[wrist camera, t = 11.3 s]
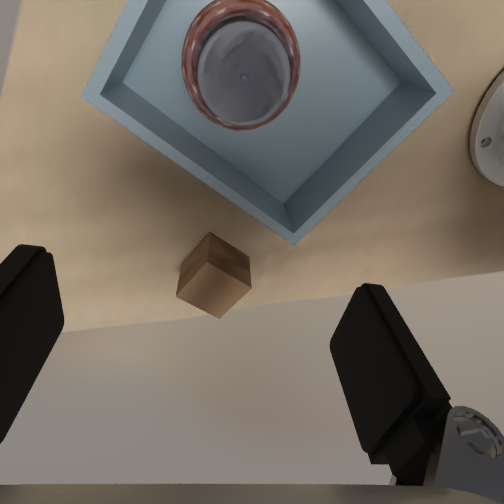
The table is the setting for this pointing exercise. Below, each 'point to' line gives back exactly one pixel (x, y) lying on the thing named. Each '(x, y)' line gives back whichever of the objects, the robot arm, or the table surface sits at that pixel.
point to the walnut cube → (214, 276)
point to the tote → (294, 115)
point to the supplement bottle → (241, 63)
